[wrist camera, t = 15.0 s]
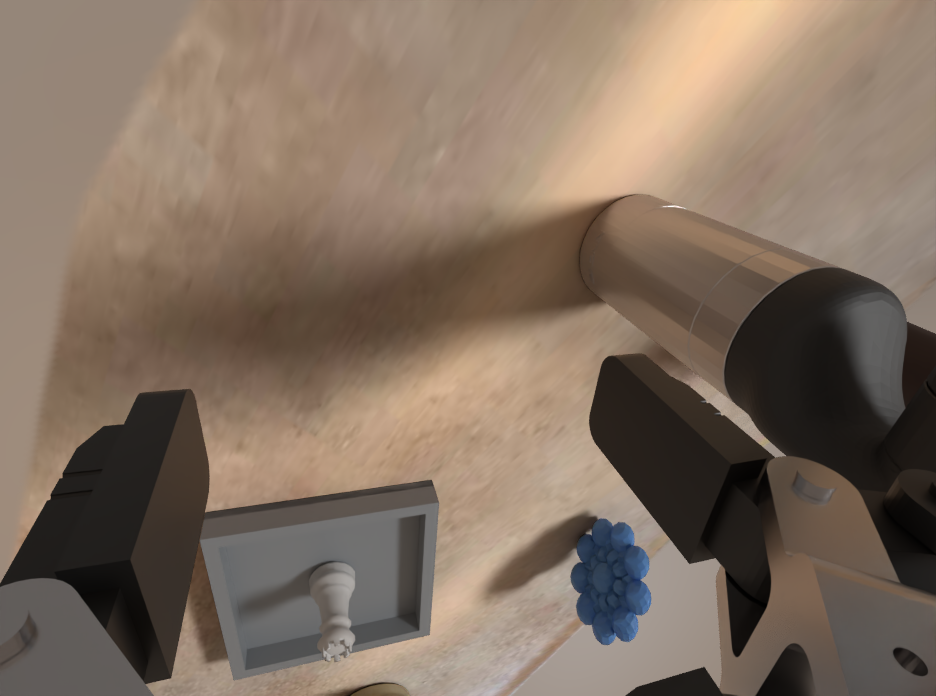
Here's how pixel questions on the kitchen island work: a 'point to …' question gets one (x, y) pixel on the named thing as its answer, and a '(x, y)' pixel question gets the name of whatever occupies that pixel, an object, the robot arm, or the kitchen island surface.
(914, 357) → the bottle
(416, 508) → the tray
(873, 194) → the kitchen island surface
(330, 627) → the rook chess piece
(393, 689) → the planter bowl
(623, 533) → the grapes
